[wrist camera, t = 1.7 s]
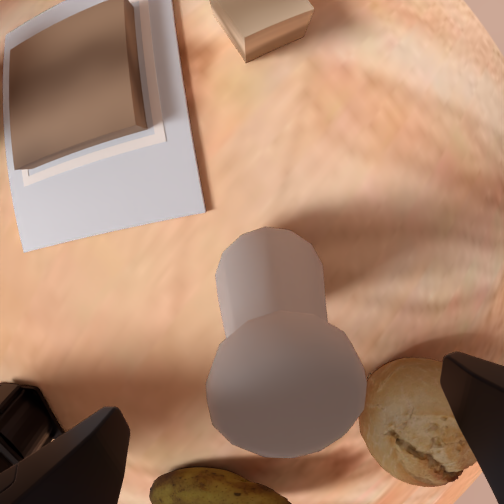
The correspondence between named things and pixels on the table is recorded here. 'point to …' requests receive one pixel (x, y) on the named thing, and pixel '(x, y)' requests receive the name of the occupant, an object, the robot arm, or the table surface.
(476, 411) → the robot arm
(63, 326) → the table surface
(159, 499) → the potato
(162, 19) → the white flat rectangular panel
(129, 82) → the walnut base block
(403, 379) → the bread roll
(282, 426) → the salt shaker
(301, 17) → the maple block
